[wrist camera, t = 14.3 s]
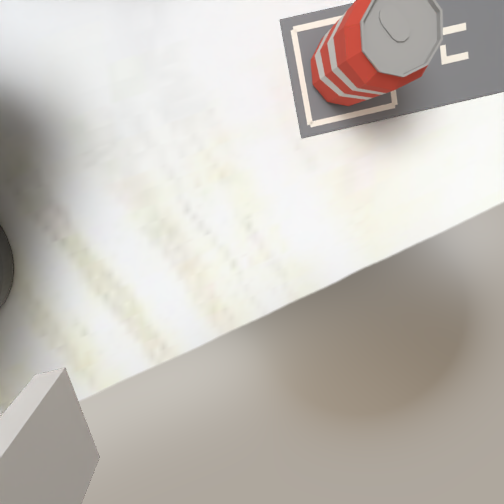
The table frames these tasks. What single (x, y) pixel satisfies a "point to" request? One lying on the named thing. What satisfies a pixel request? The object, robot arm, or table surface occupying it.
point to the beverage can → (376, 49)
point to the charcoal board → (416, 92)
